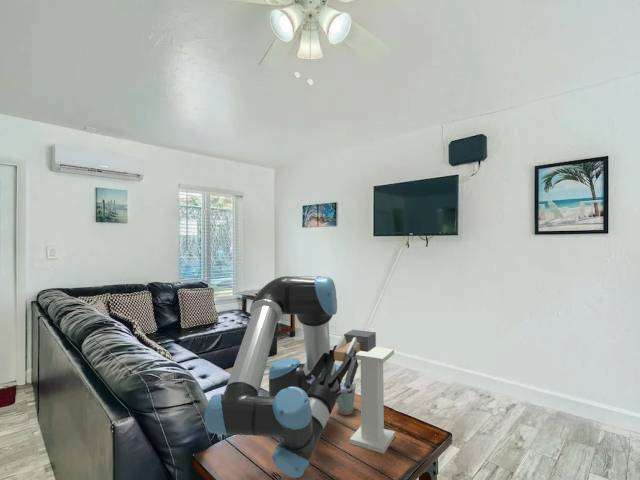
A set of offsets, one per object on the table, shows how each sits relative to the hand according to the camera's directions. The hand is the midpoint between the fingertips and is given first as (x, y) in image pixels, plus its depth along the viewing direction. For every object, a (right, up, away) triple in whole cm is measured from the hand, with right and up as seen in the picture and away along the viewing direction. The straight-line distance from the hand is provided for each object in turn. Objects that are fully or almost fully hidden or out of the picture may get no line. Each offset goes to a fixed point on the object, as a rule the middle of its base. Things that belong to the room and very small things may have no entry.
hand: (350, 340), depth 102 cm
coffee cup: (+1, -40, +36) cm, 53 cm away
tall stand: (+9, -39, +15) cm, 43 cm away
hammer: (+1, -4, +1) cm, 4 cm away
